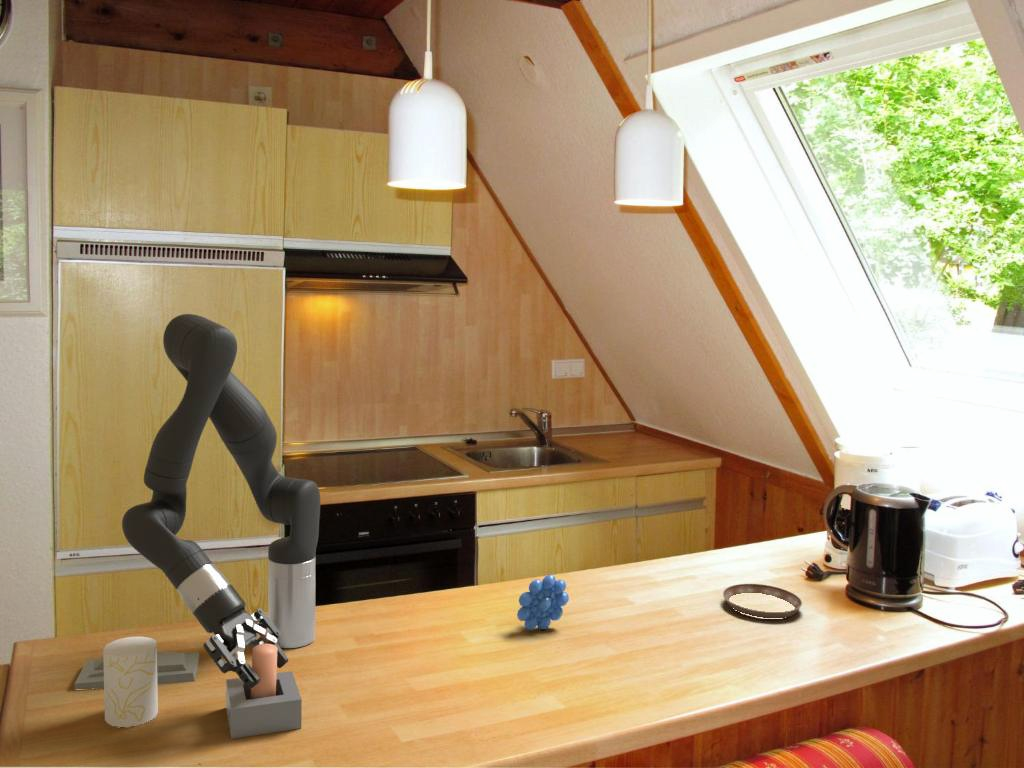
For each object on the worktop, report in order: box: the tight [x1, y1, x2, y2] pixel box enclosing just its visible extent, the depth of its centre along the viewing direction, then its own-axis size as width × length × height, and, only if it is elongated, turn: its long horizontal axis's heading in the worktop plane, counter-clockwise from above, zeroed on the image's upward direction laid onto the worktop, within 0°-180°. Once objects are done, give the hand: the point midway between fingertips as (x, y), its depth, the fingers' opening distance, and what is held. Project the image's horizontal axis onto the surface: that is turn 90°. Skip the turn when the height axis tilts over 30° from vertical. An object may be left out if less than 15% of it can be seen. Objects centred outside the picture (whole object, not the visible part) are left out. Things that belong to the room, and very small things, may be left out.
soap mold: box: [73, 650, 201, 690], centre depth 166 cm, size 10×20×4 cm, turn 104°
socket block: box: [225, 670, 303, 740], centre depth 151 cm, size 11×11×5 cm
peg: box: [251, 644, 278, 699], centre depth 150 cm, size 4×4×12 cm
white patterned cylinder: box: [102, 636, 159, 728], centre depth 150 cm, size 8×8×12 cm
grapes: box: [516, 574, 570, 631], centre depth 193 cm, size 12×7×12 cm, turn 110°
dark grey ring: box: [722, 583, 803, 618], centre depth 210 cm, size 18×18×3 cm
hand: (270, 674), depth 150 cm, fingers open, 8 cm apart
